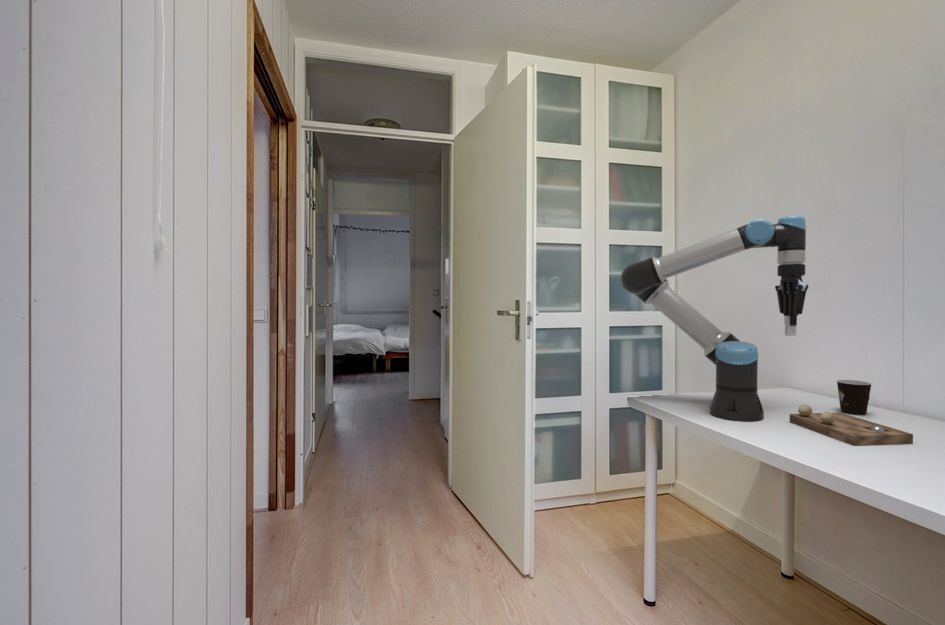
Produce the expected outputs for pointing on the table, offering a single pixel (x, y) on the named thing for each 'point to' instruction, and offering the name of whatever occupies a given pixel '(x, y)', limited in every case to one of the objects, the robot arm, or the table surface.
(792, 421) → the walnut plate
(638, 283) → the robot arm
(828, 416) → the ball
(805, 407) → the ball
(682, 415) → the table surface
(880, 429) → the steel ball
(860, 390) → the coffee mug
